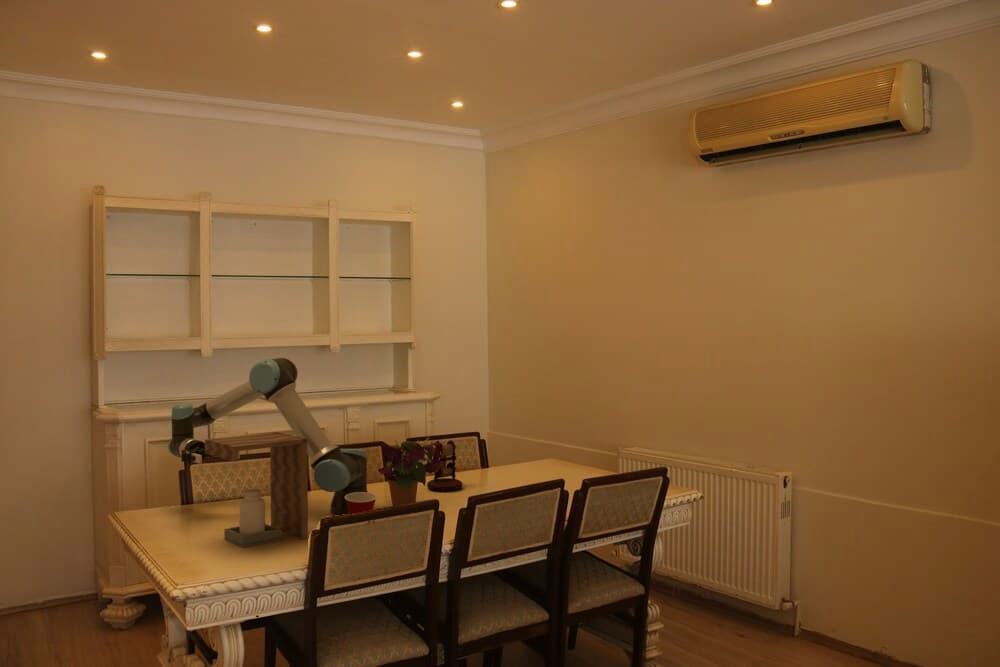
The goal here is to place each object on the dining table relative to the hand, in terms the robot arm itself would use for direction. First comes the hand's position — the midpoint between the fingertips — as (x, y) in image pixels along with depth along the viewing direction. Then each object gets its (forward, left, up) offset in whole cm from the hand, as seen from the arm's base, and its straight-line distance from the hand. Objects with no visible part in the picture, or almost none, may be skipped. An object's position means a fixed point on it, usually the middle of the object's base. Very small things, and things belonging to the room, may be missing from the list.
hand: (220, 457), depth 291 cm
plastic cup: (-49, 0, -24) cm, 55 cm away
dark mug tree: (-64, -71, -24) cm, 99 cm away
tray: (-18, +15, -24) cm, 33 cm away
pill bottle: (-18, +15, -23) cm, 33 cm away
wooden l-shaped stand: (-19, +14, -24) cm, 33 cm away
